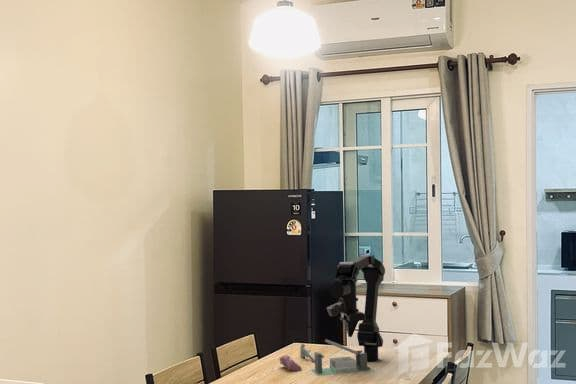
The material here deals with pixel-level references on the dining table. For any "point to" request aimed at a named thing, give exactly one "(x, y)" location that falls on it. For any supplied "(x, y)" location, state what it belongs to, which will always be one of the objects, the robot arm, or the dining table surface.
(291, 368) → the purple rounded piece
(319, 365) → the post
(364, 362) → the hinge post
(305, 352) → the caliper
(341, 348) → the strap
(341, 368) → the heatsink
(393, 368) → the dining table surface
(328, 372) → the board
